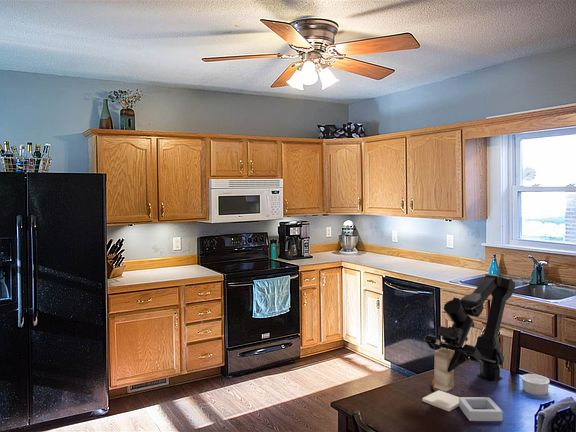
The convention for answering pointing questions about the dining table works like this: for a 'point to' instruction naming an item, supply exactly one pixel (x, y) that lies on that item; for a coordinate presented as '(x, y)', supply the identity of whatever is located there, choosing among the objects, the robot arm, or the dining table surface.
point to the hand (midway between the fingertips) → (441, 369)
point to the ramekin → (535, 384)
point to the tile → (442, 400)
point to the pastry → (435, 388)
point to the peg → (443, 369)
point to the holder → (480, 414)
